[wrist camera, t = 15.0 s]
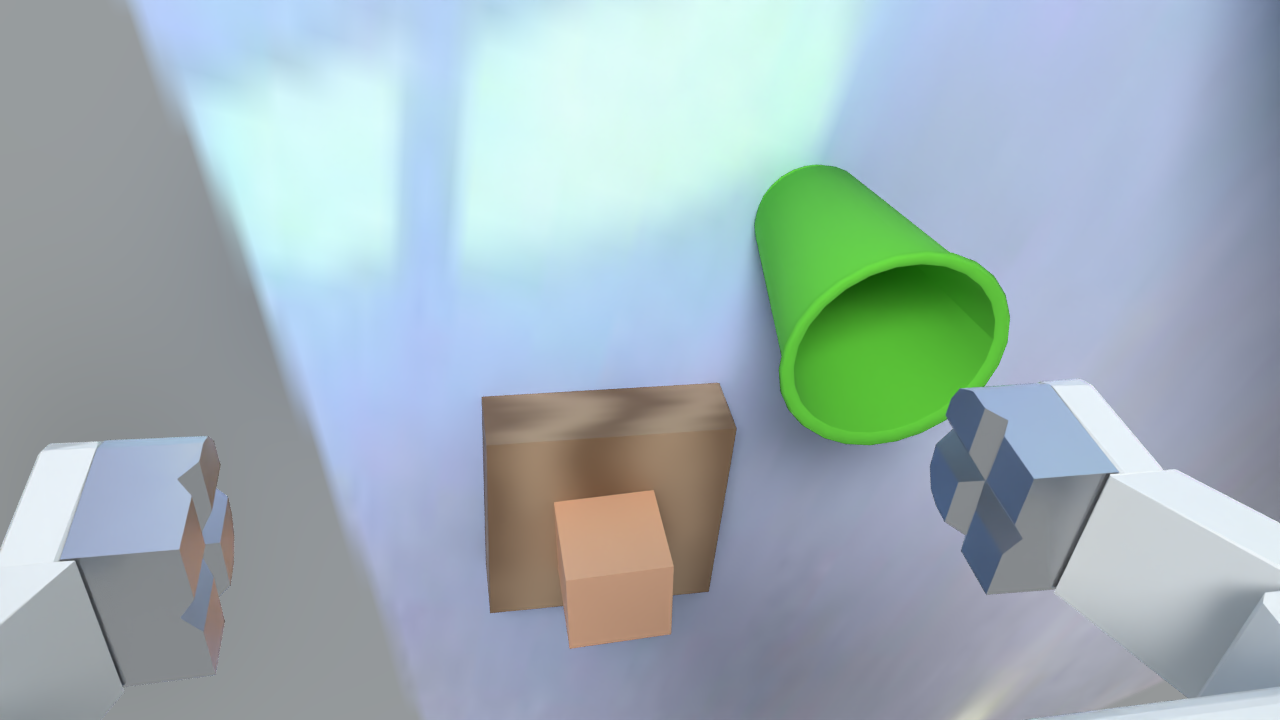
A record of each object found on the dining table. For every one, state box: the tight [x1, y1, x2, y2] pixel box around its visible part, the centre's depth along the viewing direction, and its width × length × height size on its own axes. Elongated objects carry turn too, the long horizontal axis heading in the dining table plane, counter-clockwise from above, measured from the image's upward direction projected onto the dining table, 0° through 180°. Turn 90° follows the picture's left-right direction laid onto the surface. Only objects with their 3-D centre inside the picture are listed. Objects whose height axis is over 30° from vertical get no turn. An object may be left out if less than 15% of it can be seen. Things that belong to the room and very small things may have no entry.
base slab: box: [482, 383, 737, 613], centre depth 54 cm, size 12×12×4 cm
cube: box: [554, 490, 674, 649], centre depth 51 cm, size 5×5×5 cm
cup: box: [755, 165, 1010, 445], centre depth 43 cm, size 9×9×11 cm
